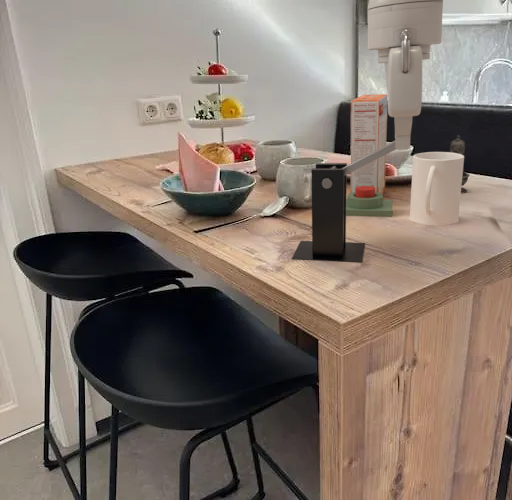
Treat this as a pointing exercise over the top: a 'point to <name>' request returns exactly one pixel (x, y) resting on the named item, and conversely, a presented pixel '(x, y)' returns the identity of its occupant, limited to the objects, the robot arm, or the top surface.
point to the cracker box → (368, 140)
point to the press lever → (368, 158)
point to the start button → (365, 192)
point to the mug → (436, 188)
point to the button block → (368, 206)
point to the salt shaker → (459, 148)
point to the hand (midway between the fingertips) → (402, 144)
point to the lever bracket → (329, 219)
